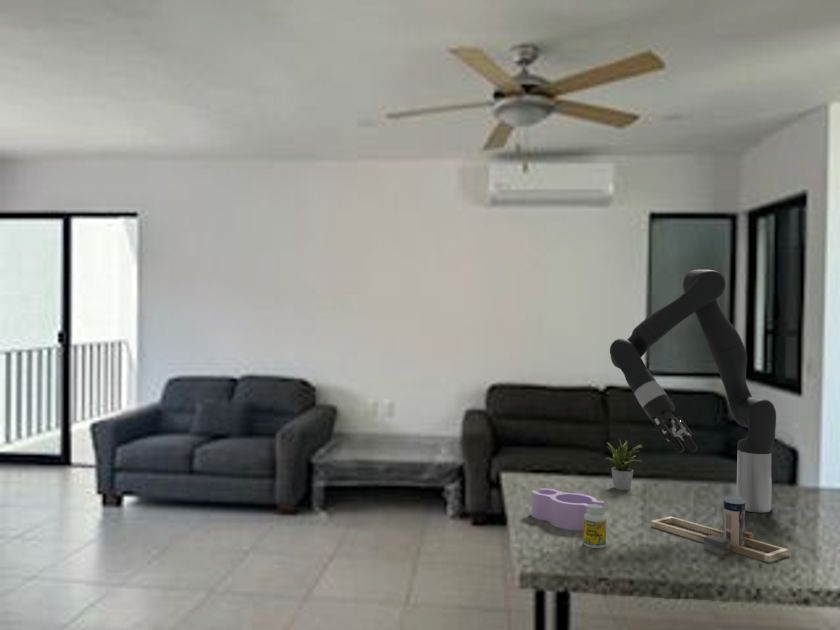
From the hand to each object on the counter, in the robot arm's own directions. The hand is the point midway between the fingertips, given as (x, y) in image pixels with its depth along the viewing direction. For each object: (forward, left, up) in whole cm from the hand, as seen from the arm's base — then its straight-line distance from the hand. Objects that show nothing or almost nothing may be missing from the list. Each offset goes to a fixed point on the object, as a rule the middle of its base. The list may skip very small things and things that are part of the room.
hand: (688, 451), depth 184 cm
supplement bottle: (+32, -4, -21) cm, 38 cm away
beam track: (+3, +9, -21) cm, 23 cm away
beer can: (+2, +14, -21) cm, 26 cm away
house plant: (-22, -38, -21) cm, 49 cm away
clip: (+23, -22, -21) cm, 38 cm away
